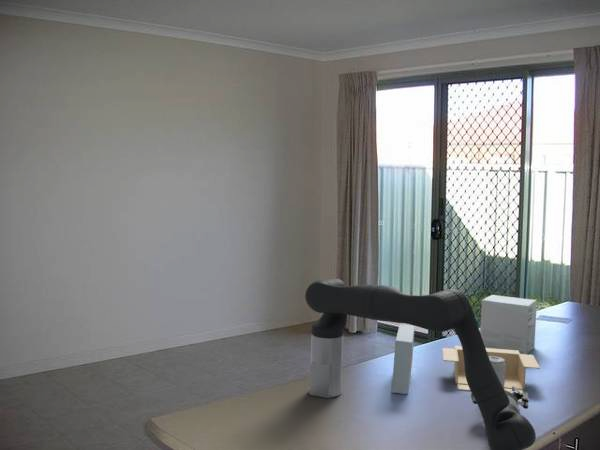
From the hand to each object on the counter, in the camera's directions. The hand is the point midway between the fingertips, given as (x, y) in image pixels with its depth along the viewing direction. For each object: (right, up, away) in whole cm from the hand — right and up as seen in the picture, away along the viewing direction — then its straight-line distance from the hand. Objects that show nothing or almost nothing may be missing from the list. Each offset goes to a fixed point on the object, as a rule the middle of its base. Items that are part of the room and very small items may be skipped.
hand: (497, 388), depth 184 cm
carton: (+5, -4, +27) cm, 28 cm away
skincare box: (-22, -4, +23) cm, 33 cm away
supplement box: (+23, -1, +66) cm, 70 cm away
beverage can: (+2, -6, +11) cm, 13 cm away
